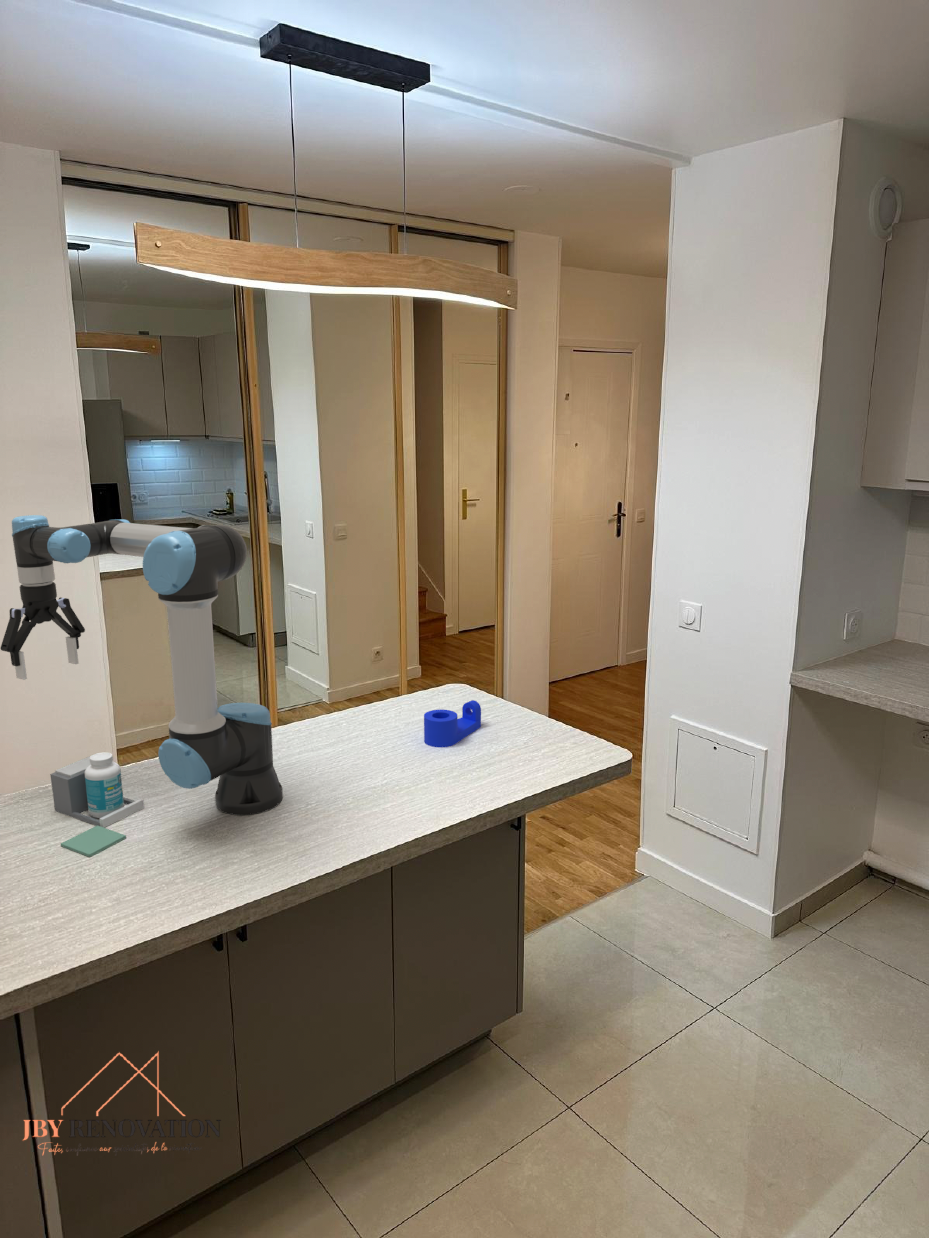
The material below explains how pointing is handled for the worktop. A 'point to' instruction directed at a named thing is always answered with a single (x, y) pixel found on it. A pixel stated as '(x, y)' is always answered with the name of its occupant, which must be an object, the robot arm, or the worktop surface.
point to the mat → (93, 841)
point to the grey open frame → (83, 795)
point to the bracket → (451, 725)
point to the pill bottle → (103, 785)
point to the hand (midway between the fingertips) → (48, 670)
